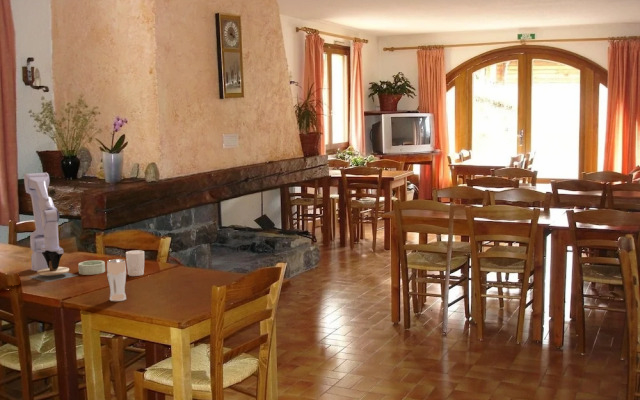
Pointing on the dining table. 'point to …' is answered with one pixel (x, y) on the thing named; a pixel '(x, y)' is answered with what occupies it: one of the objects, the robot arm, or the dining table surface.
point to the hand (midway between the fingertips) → (53, 268)
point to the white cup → (135, 262)
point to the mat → (53, 277)
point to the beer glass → (116, 279)
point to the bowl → (91, 267)
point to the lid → (52, 270)
